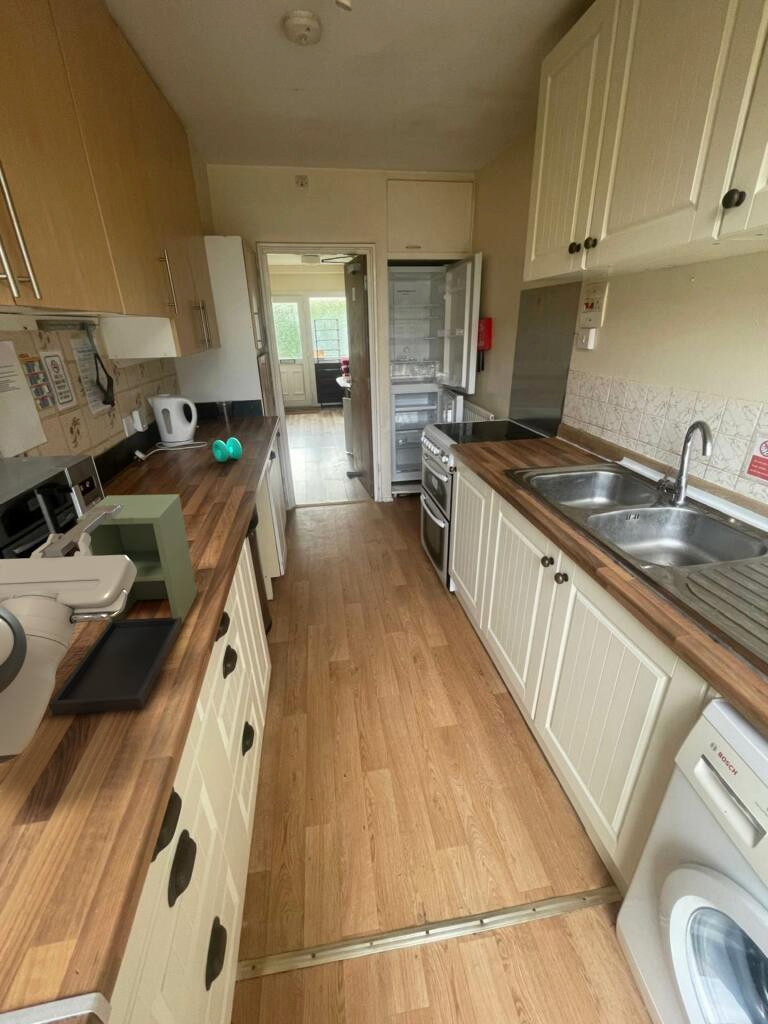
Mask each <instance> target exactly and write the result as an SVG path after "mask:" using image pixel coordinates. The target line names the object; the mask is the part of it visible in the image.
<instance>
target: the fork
mask: <svg viewBox="0 0 768 1024" xmlns="http://www.w3.org/2000/svg"><path fill="white" fill-rule="evenodd" d="M92 507H93V508H92ZM92 507H91V508H92V509H91V508H90V509H91V510H90V509H88V510H89V511H88V510H87V511H88V512H87V511H86V512H87V513H86V512H85V513H86V515H87V517H86V518H85V519H84V520H83V521H81V522H80V523H79V524H78V523H77V524H76V525H75V526H73V527H72V528H71V529H70V530H68V531H67V532H66V533H65V534H63V536H62V537H61V538H59V539H58V540H57V541H56V542H54V543H53V544H52V545H50V546H49V547H48V548H47V549H45V552H46V555H47V557H49V558H51V557H65V555H66V554H67V553H68V552H70V551H71V550H72V549H73V548H74V547H76V545H74V544H73V543H72V540H73V538H74V537H75V536H74V535H75V534H76V533H88V534H90V533H91V532H92V531H93V530H94V529H95V528H97V527H98V526H99V525H100V524H101V523H102V522H104V521H105V520H106V519H113V518H114V517H116V516H117V515H118V514H119V513H120V512H121V510H122V509H123V508H124V505H123V504H121V505H119V506H115V505H111V506H107V505H103V506H95V505H94V506H92Z"/></svg>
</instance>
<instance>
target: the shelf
mask: <svg viewBox="0 0 768 1024" xmlns="http://www.w3.org/2000/svg"><path fill="white" fill-rule="evenodd" d="M121 504H123V505H124V508H123V509H122V510H121V512H120V513H119V514H118V515H117V516H116V517H114V518H113V519H106V520H105V521H104V522H102V523H101V524H100V525H99V526H98V527H97V528H95V529H94V530H93V531H92V532H91V533H90V534H89V535H90V537H91V542H90V544H89V547H88V548H89V550H90V552H91V555H92V556H106V555H126V556H127V557H128V558H129V559H130V560H131V561H132V562H133V564H134V565H135V567H136V569H137V573H136V577H135V579H134V582H133V584H132V587H131V589H130V591H129V593H128V595H127V601H126V604H125V607H124V609H123V611H122V612H121V613H119V614H118V615H116V616H114V617H112V618H110V620H107V621H105V623H106V626H107V625H108V624H109V622H112V621H113V620H124V618H125V617H126V616H127V614H128V613H129V612H130V610H131V608H132V607H133V606H134V604H135V603H136V602H137V601H144V600H145V601H147V600H166V599H168V602H169V607H170V613H171V617H173V619H179V617H181V619H182V624H183V623H184V622H185V619H186V618H187V615H188V614H189V611H190V610H191V607H192V605H193V603H194V601H195V599H196V597H197V595H198V594H197V588H196V582H195V576H194V571H193V564H192V559H191V554H190V553H191V552H190V547H189V542H188V537H187V532H186V524H185V520H184V514H183V508H182V501H181V497H180V494H179V493H177V494H176V493H175V494H173V493H172V494H171V493H170V494H124V495H123V494H119V495H117V494H116V495H106V496H105V497H104V498H102V500H100V501H99V502H97V503H96V504H95V505H94V506H103V505H107V506H111V505H115V506H119V505H121ZM94 506H92V507H91V508H90V509H88V510H87V511H86V512H85V513H83V514H81V516H79V517H78V518H77V519H76V522H77V524H79V523H80V522H81V521H83V520H84V519H85V518H86V517H87V515H86V513H87V512H88V511H89V510H91V509H92V508H93V507H94ZM110 614H114V613H110Z"/></svg>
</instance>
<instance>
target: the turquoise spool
mask: <svg viewBox="0 0 768 1024" xmlns="http://www.w3.org/2000/svg"><path fill="white" fill-rule="evenodd" d="M212 453H213V456H214V458H215V459H216V461H218V462H219V463H225V462H226V461H227V460H228V459H229V457H230V458H232V459H234V460H238V459H240V458H241V457H242V454H243V449H242V445H241V443H240V441H239V440H238V439H237V438H235V437H230V438H228V439H227V441H226V443H225V442H224V441H222V440H220V439H219V440H218V439H217V440H215V441H214V442H213V443H212Z"/></svg>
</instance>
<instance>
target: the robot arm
mask: <svg viewBox="0 0 768 1024" xmlns="http://www.w3.org/2000/svg"><path fill="white" fill-rule="evenodd" d="M63 535H64V533H50V534H49V535H48V538H47V540H46V542H45V543H43V544H41V545H40V546H39V547H37V549H35V550H34V551H33V552H31V555H30V557H26V558H3V559H1V558H0V764H3V763H5V762H8V761H10V760H13V759H15V758H17V757H18V756H19V755H20V754H22V753H23V752H24V751H26V749H27V748H28V746H29V744H30V743H31V742H32V740H33V738H34V736H35V734H36V733H37V731H38V728H39V726H40V724H41V722H42V721H43V719H44V715H45V713H46V710H47V709H48V707H49V703H50V702H51V701H50V700H51V698H52V695H53V693H54V689H55V687H56V674H57V670H58V668H59V666H60V664H61V662H62V661H63V660H64V658H65V657H66V656H67V652H68V651H69V647H70V645H71V642H72V639H73V636H74V633H75V630H76V627H77V624H79V623H89V622H106V621H107V620H110V618H112V617H114V616H116V615H118V614H119V613H121V612H122V611H123V609H124V607H125V604H126V601H127V595H128V593H129V591H130V589H131V587H132V584H133V582H134V579H135V577H136V573H137V569H136V567H135V565H134V564H133V562H132V561H131V560H130V559H129V558H128V557H127V556H126V555H106V556H92V555H91V552H90V550H89V548H88V547H89V544H90V542H91V537H90V535H89V534H88V533H76V534H75V535H74V536H75V537H74V538H73V540H72V543H73V544H74V545H76V546H75V547H76V548H77V549H79V551H78V550H77V551H75V552H74V554H73V556H63V557H47V555H46V552H45V549H47V548H48V547H49V546H50V545H52V544H53V543H54V542H56V541H57V540H58V539H59V538H61V537H62V536H63ZM110 613H114V614H110Z"/></svg>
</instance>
